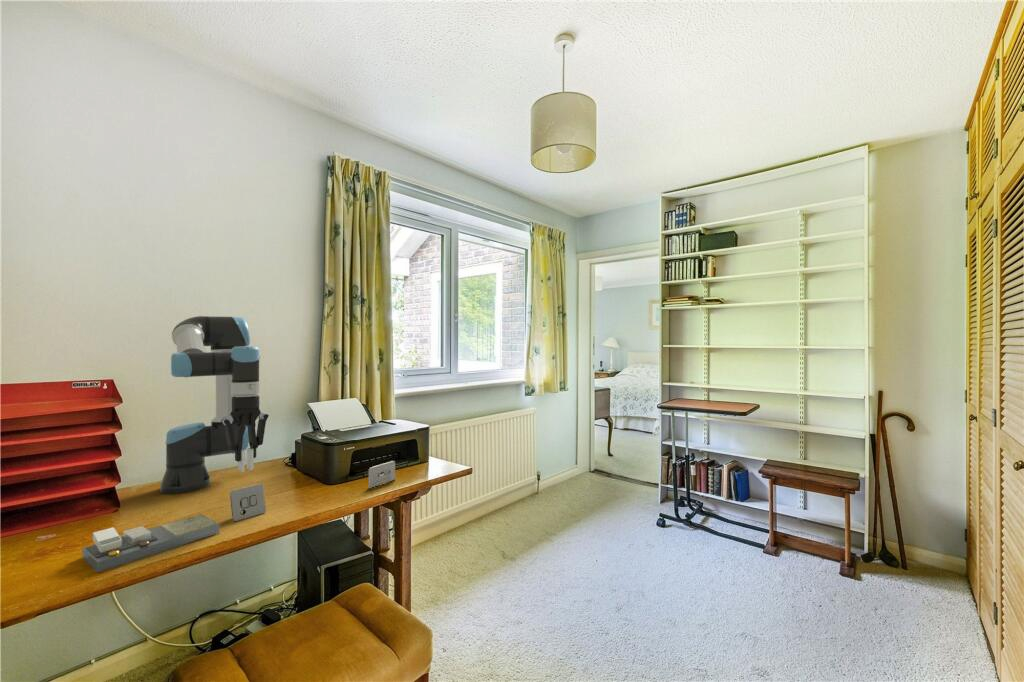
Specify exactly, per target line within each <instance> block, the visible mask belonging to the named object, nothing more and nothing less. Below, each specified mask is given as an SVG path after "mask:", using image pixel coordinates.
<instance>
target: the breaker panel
mask: <svg viewBox="0 0 1024 682" xmlns="http://www.w3.org/2000/svg"><path fill="white" fill-rule="evenodd" d="M122 532H123V533H122V536H120V538H121V539H122V546H121V547H118V548H115V549H111V550H108V551H105V552H101V553H100V551H99V549H98V548H97V546H96V544H95V543H94V544H91V545H87V546H85V547H82V548H81V549H82V551H81V552H82V557H83V558H84V559H85V560H86V561H85V560H84V559H83V558H82V559H83V560H84V561H85V562H86V563H87V564H88V565H89V566H90V567H91V568H92V569H93V570H94V571H95V572H96V573H97V574H99V573H101V572H105V571H108V570H111V569H114V568H116V567H119V566H120V567H121V566H123V565H126V564H129V563H132V562H135V561H138V560H142V559H145V558H147V557H150V556H153V555H156V554H159V553H163V552H166V551H169V550H171V549H175V548H178V547H181V546H185V545H187V543H188V544H190V543H189V542H191V543H193V542H192V541H194V542H196V541H195V540H197V541H199V540H198V539H200V540H202V539H201V538H203V539H205V538H204V537H206V538H208V536H209V537H211V535H212V536H214V534H215V535H217V534H216V533H218V534H220V524H219V523H218V522H217V521H215V520H213V519H212V518H210V517H208V516H206V515H205V514H202V513H201V514H195V515H193V516H190V517H187V518H183V519H179V520H175V521H172V522H169V523H164V524H162V525H158V526H157V525H156V526H155V527H151V528H148V529H147V528H145V527H144V526H143V525H141V526H138V527H134V528H130V529H127V530H124V531H122ZM184 544H185V545H184Z"/></svg>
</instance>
